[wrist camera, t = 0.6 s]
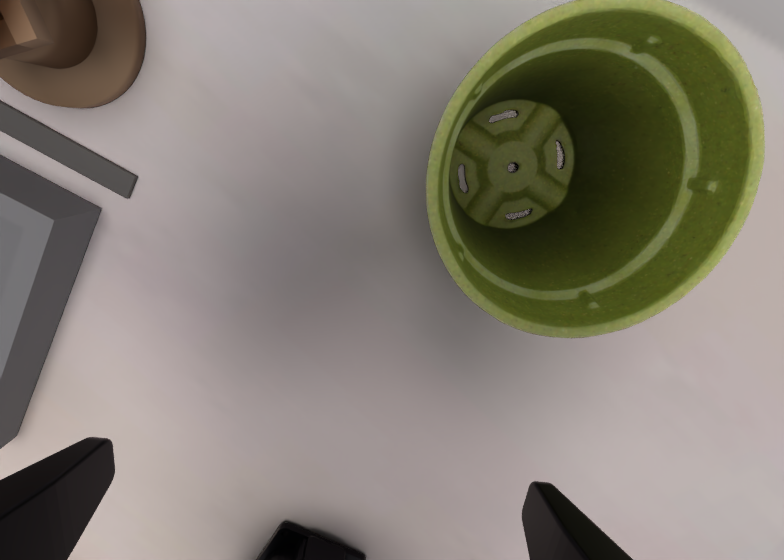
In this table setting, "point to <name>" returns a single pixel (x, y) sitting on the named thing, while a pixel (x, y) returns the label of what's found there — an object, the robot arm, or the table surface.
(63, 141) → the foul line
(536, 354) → the table surface
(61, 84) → the tee
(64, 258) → the grey square tray
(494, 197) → the plant pot
